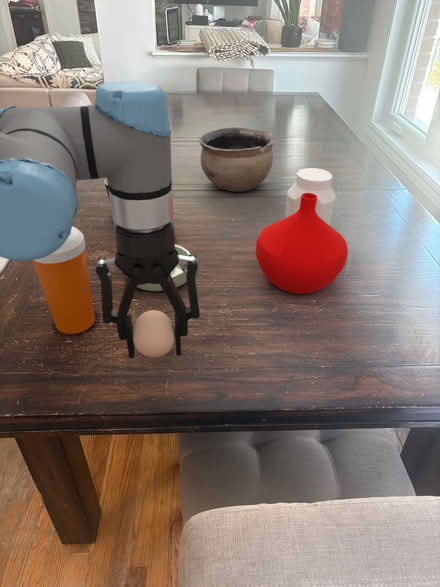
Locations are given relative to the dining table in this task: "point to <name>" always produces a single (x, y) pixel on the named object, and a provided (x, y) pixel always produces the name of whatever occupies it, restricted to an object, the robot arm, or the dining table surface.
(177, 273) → the dish
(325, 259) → the vase
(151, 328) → the egg
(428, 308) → the dining table surface
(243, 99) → the dining table surface
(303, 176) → the jar
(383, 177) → the dining table surface
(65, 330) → the shaker bottle
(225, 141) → the ceramic bowl
